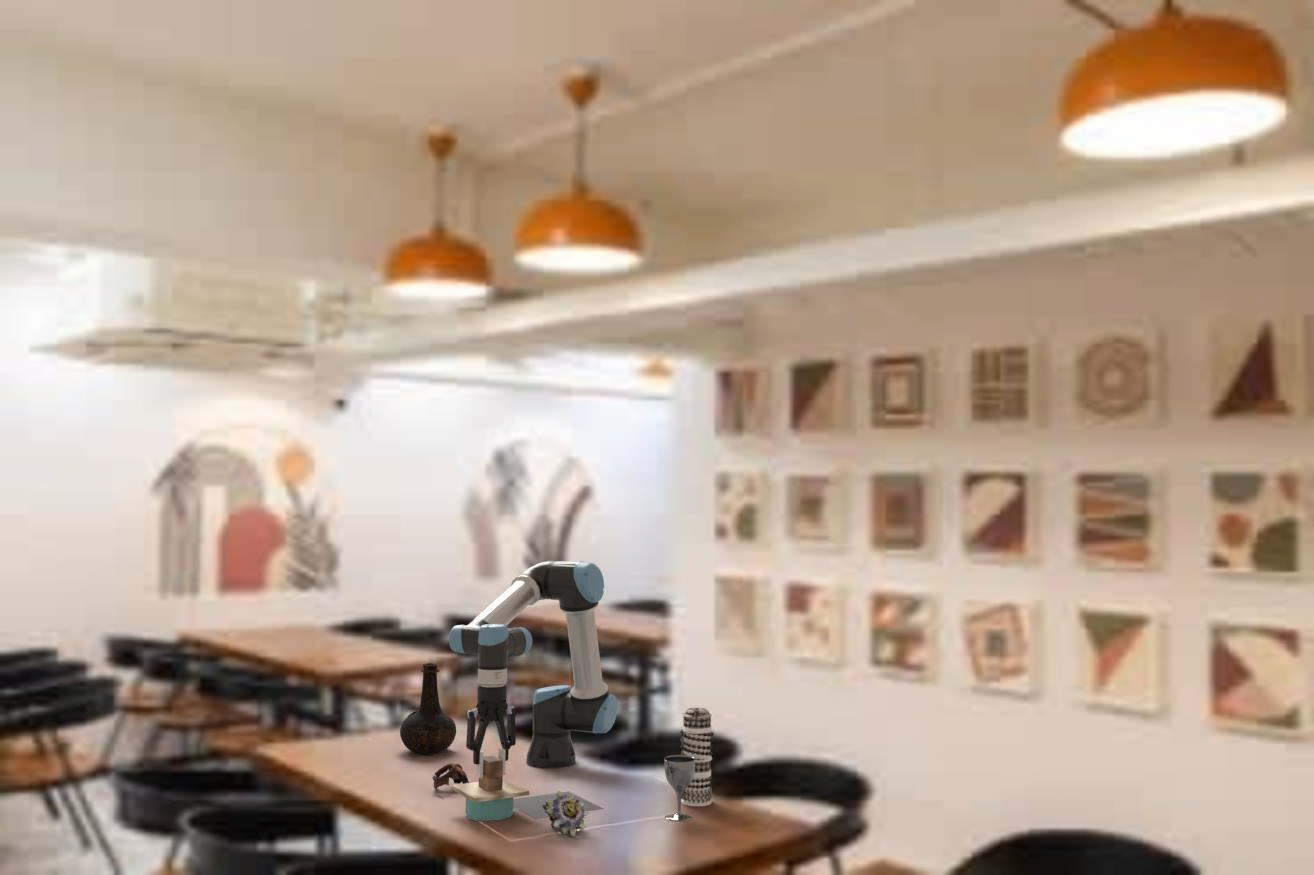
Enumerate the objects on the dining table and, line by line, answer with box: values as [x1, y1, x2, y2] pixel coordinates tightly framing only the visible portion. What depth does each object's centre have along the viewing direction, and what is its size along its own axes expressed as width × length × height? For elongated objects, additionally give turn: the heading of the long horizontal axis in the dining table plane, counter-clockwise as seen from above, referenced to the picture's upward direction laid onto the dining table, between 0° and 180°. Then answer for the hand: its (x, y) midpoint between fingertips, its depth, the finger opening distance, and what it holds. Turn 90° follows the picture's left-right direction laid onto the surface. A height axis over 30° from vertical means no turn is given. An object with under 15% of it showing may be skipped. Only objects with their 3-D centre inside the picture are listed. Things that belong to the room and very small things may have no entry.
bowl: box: [465, 797, 515, 823], centre depth 297 cm, size 12×12×6 cm
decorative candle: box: [679, 707, 715, 807], centre depth 313 cm, size 9×9×25 cm
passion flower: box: [543, 790, 590, 838], centre depth 284 cm, size 11×11×12 cm
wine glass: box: [663, 754, 695, 822], centre depth 298 cm, size 8×8×15 cm
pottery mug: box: [431, 762, 470, 790], centre depth 323 cm, size 12×10×8 cm
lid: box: [451, 755, 530, 803], centre depth 297 cm, size 15×15×8 cm
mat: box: [514, 791, 604, 820], centre depth 306 cm, size 20×20×1 cm
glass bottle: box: [399, 662, 457, 755], centre depth 369 cm, size 18×18×28 cm
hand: (490, 775), depth 297 cm, fingers open, 5 cm apart
